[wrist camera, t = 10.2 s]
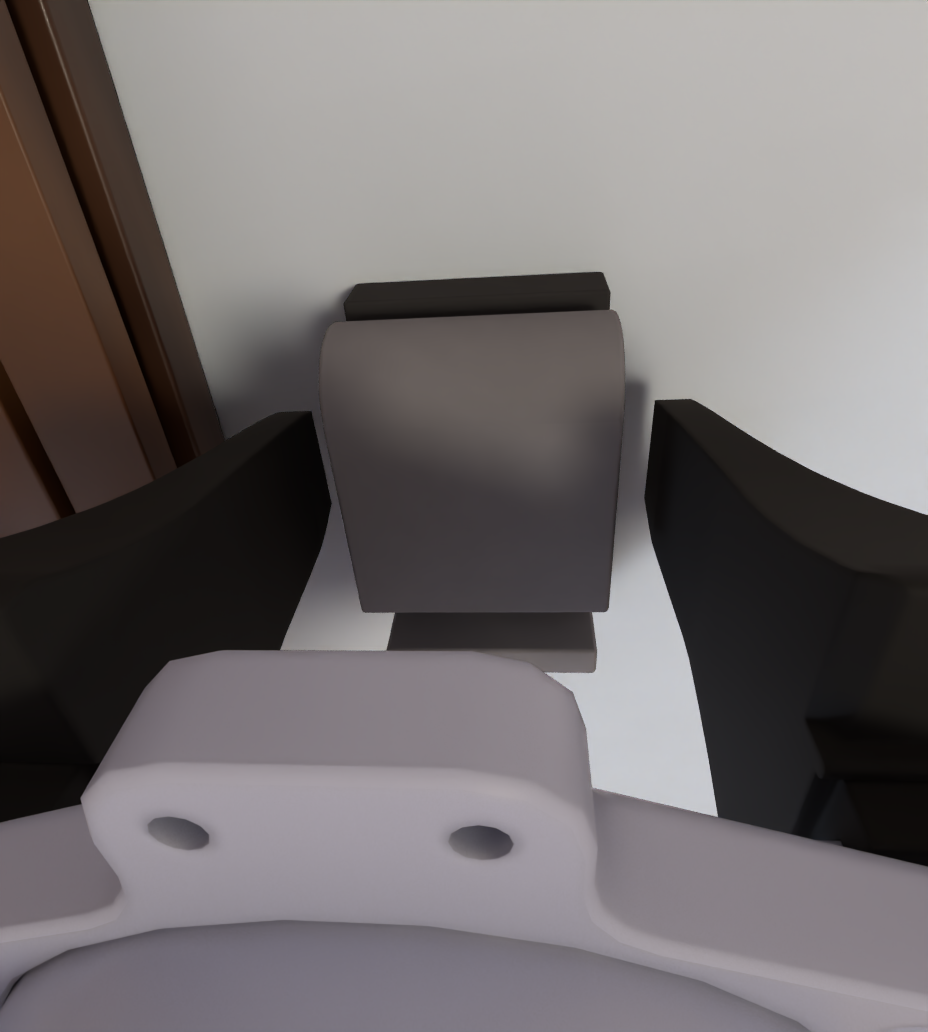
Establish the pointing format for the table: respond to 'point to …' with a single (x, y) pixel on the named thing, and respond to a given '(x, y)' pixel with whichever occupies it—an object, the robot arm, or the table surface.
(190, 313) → the table surface
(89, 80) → the shoe rack
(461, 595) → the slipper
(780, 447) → the table surface
